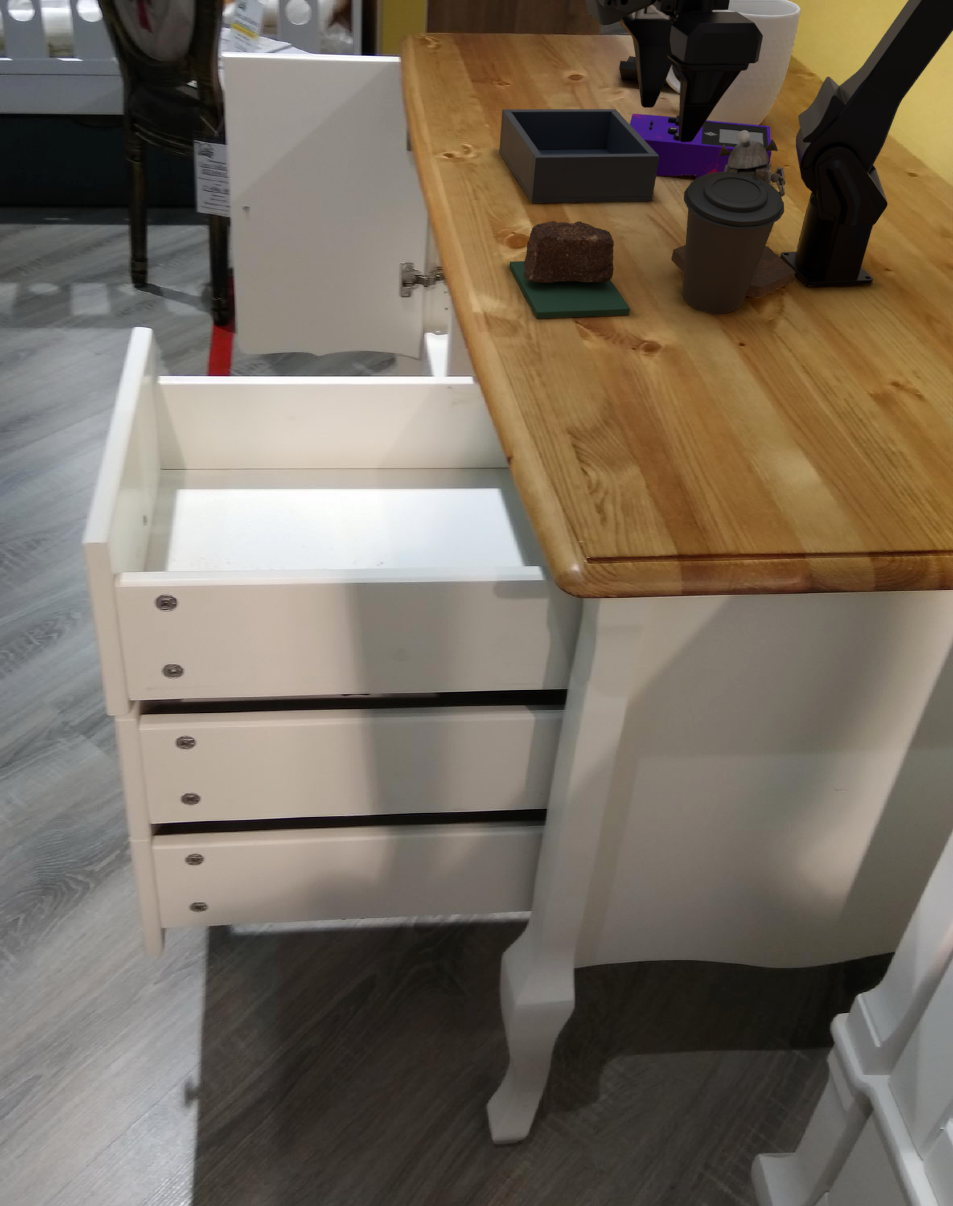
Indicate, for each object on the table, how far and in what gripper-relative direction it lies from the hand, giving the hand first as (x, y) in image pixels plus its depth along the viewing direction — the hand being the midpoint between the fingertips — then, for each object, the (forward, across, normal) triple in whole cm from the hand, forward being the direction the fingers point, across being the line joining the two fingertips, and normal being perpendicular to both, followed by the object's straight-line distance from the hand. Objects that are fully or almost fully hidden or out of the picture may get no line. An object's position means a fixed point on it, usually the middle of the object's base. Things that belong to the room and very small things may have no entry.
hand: (665, 123), depth 100 cm
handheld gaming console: (+12, -22, +13) cm, 28 cm away
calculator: (+12, -53, +21) cm, 58 cm away
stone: (+11, +8, -10) cm, 17 cm away
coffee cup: (+11, +10, +2) cm, 15 cm away
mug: (+12, -36, +22) cm, 44 cm away
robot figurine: (+11, +7, +5) cm, 14 cm away
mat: (+11, +7, -10) cm, 17 cm away
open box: (+11, -19, -1) cm, 22 cm away
